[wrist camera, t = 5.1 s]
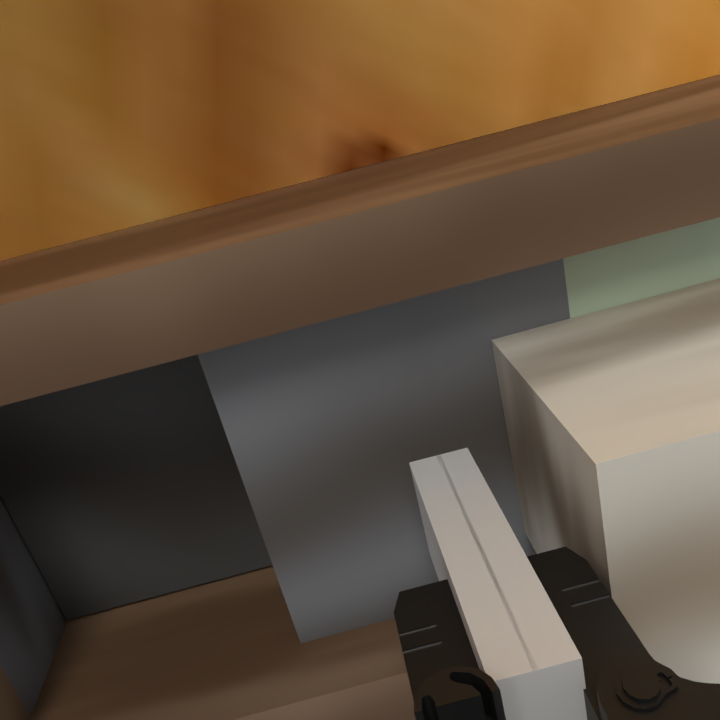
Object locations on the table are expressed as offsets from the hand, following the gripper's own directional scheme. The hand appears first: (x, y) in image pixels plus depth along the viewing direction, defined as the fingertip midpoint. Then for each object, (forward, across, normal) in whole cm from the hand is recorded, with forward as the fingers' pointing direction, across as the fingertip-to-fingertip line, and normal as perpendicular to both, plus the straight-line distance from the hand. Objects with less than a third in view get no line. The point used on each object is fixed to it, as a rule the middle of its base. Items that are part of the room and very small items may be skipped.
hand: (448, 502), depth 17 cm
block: (+2, +5, 0) cm, 5 cm away
